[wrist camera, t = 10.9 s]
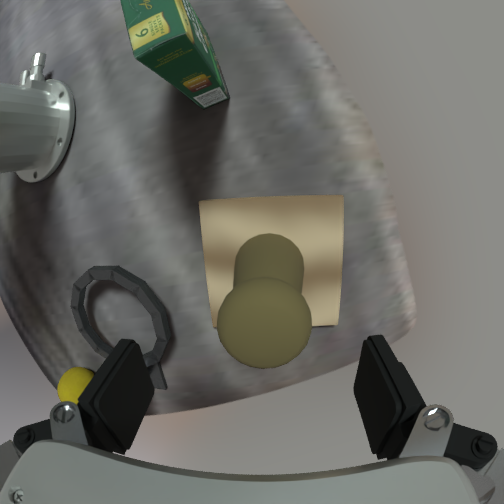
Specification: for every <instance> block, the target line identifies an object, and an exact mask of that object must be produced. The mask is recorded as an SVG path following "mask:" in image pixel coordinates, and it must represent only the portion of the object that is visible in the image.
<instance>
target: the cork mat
mask: <svg viewBox="0 0 504 504" xmlns="http://www.w3.org/2000/svg"><path fill="white" fill-rule="evenodd" d="M199 210H200V221H201V232H202V242H203V251H204V260H205V269H206V277H207V286H208V293H209V301H210V309H211V316H212V323H213V327H217V317H218V311H219V309H220V306H221V304H222V303H223V301H224V299H225V297H226V295H227V294H228V293H229V292H230V291H232V290H233V281H234V265H235V258H236V255H237V253H238V251H239V249H240V247H241V246H242V245H243V244H244V243H245V242H246V241H247V240H248V239H250V238H253V237H255V236H257V235H260V234H267V233H272V234H278V235H282V236H284V237H286V238H288V239H289V240H291V241H292V242H293V243H294V244H295V245H296V246H297V247H298V248H299V250H300V252H301V254H302V256H303V260H304V277H303V286H302V295H303V296H304V298H305V300H306V302H307V304H308V306H309V308H310V311H311V317H312V326H324V325H338V317H339V306H340V294H341V279H342V259H343V220H344V202H343V195H301V196H269V197H247V198H230V199H215V200H201V201H199Z"/></svg>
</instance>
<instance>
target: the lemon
mask: <svg viewBox="0 0 504 504" xmlns="http://www.w3.org/2000/svg"><path fill="white" fill-rule="evenodd" d="M93 376H94V374H93V372H92V371H90V370H88V369H86V368H83V367H74V368H71V369H69V370H68V371H66V372H65V373H64V374H63V376H62V377H61V379H60V381H59V384H58V389H57V390H58V396H59V399H60V401H61V402H64V401H71V402H73V403H75V404H76V405H77V403H78V402H79V401H78V400H77V399H78V398H79V396H80V395H81V393H82V392H83V390H84V389H85V388H86V386H87V385H88V383H89V382H90V381H91V379H92V378H93Z"/></svg>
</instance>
